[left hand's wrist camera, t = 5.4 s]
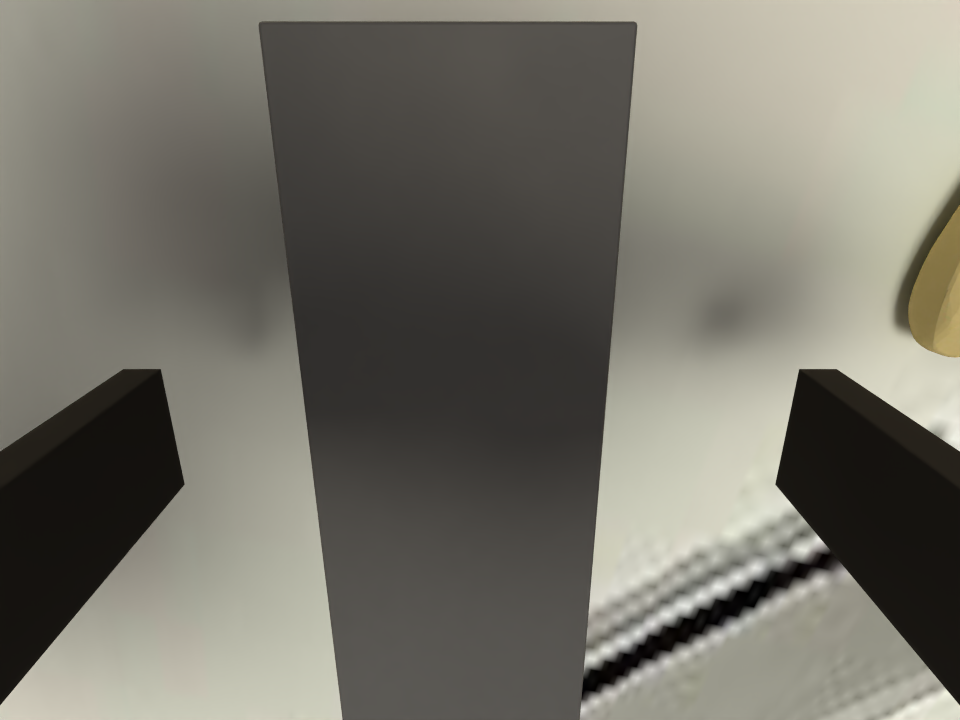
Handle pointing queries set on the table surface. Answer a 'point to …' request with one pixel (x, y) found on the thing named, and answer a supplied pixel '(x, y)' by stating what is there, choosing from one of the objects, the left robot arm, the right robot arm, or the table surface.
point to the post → (453, 344)
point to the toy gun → (939, 295)
